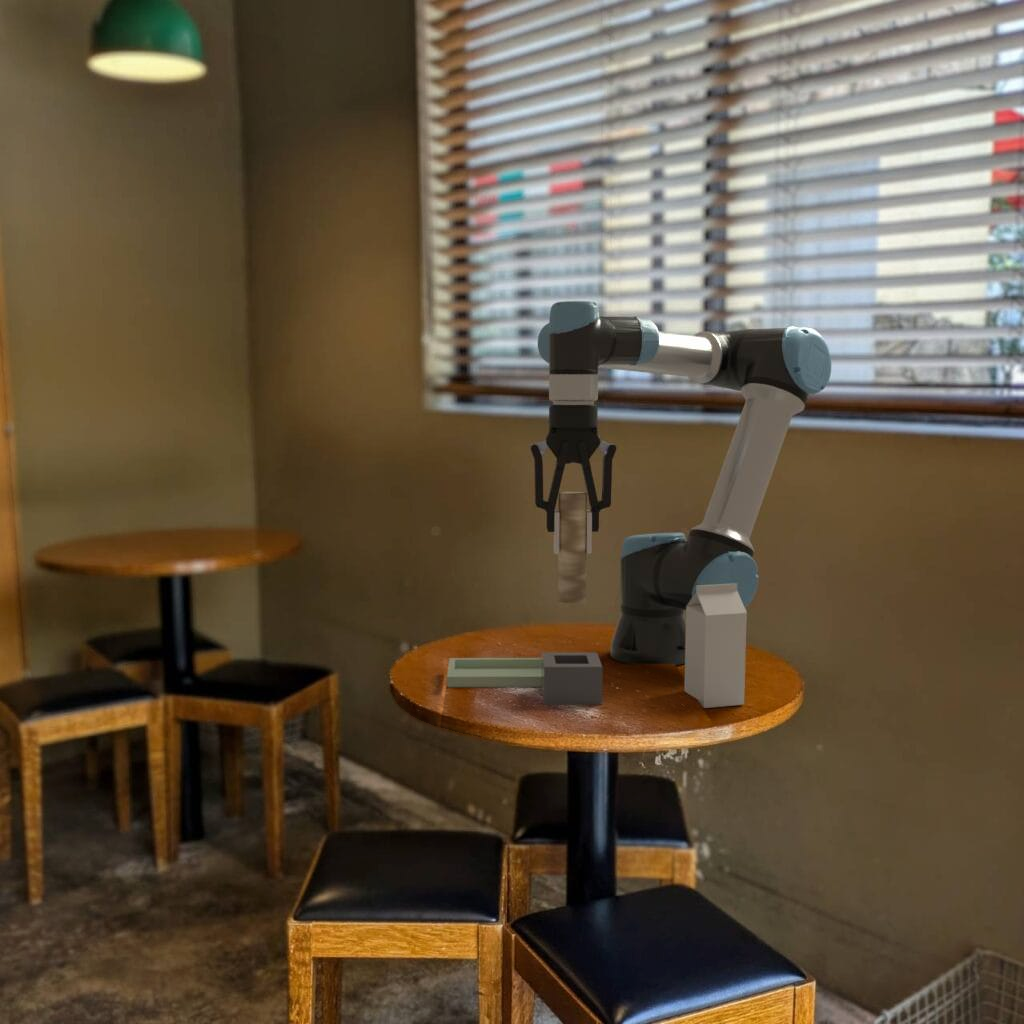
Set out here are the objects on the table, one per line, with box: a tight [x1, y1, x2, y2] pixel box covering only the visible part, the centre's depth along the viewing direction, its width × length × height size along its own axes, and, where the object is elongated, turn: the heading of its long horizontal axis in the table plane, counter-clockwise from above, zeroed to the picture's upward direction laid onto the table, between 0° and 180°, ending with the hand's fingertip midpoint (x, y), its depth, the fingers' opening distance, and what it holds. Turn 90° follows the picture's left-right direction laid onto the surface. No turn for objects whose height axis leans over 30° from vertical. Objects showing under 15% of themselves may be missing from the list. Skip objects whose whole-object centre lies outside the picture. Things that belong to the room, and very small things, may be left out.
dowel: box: [557, 491, 588, 604], centre depth 173 cm, size 4×4×17 cm
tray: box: [446, 657, 542, 688], centre depth 187 cm, size 18×12×3 cm, turn 91°
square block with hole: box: [541, 651, 603, 706], centre depth 175 cm, size 9×9×7 cm
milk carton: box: [683, 583, 748, 709], centre depth 175 cm, size 7×7×19 cm
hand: (572, 552), depth 173 cm, fingers closed on dowel, 4 cm apart
